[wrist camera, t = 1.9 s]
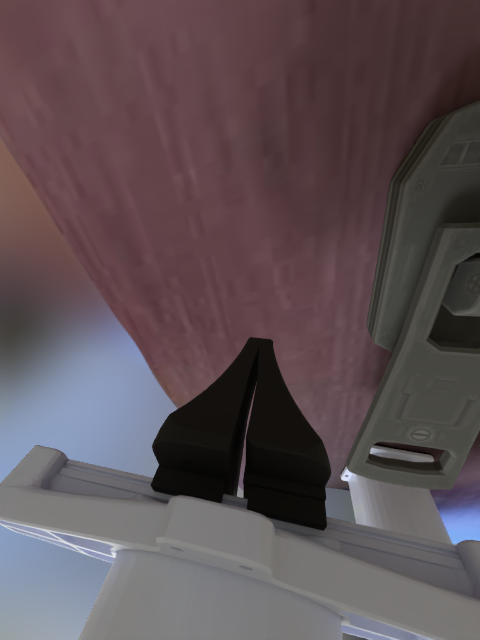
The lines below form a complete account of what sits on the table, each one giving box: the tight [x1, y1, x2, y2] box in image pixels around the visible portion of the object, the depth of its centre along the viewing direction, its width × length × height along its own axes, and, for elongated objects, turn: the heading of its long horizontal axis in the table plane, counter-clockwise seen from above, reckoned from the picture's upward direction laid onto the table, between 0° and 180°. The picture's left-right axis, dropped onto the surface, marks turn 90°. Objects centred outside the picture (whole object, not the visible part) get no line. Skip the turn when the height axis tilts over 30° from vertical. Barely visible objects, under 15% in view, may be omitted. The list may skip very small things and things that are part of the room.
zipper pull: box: [346, 100, 480, 490], centre depth 14 cm, size 9×7×25 cm
